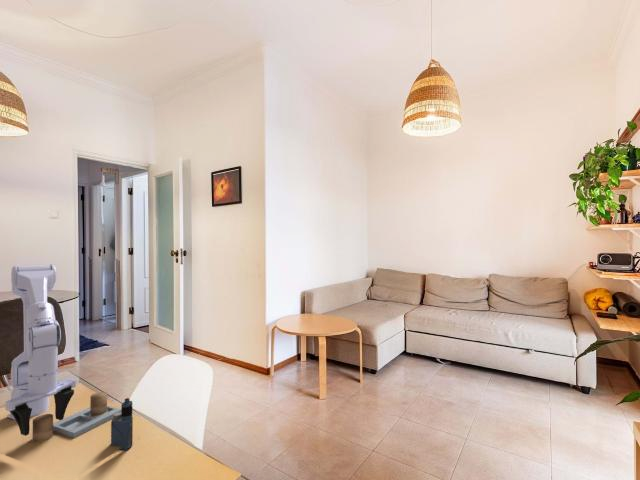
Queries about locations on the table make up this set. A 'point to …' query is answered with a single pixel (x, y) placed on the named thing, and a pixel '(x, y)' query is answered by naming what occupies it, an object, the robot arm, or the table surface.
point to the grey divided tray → (82, 422)
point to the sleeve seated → (98, 404)
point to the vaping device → (122, 427)
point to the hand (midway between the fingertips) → (42, 426)
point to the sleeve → (42, 428)
